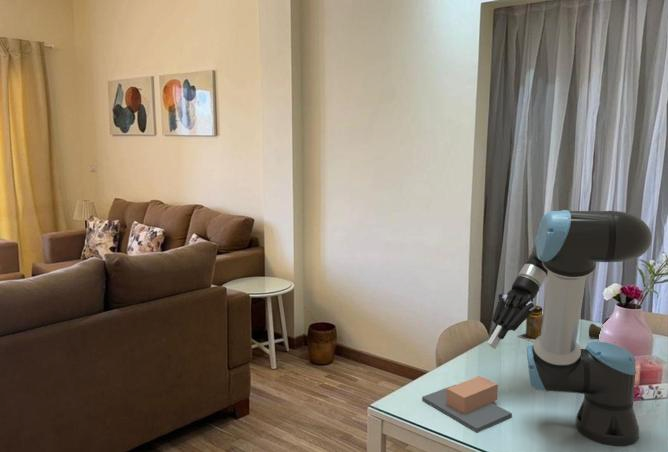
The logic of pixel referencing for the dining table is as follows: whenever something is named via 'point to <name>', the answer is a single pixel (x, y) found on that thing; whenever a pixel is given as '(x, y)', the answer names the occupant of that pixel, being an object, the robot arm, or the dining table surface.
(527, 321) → the condiment
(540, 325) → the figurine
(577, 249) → the robot arm
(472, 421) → the rubber mat
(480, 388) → the tall block
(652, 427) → the dining table surface
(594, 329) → the kendama
